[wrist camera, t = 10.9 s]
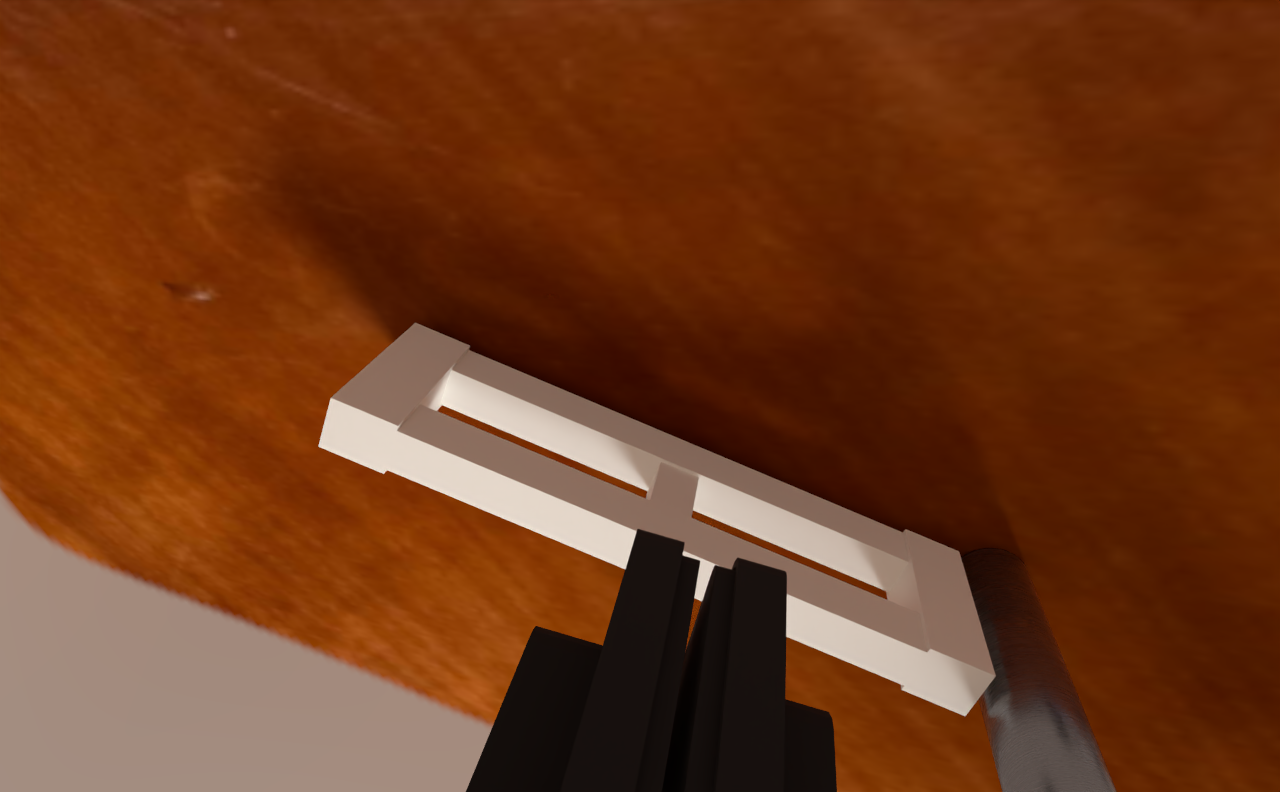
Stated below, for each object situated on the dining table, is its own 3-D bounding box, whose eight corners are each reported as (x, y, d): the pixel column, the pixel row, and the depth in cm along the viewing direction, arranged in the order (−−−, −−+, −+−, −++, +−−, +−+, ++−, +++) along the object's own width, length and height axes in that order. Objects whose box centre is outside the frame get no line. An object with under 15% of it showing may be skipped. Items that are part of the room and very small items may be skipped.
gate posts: (1010, 620, 29) (1108, 905, 20) (937, 599, 29) (1001, 873, 20) (1459, -227, 19) (2053, -417, 10) (1345, -255, 19) (1834, -468, 10)
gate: (958, 551, 28) (995, 676, 23) (934, 587, 29) (965, 716, 24) (415, 322, 28) (330, 397, 23) (403, 364, 28) (318, 446, 23)
